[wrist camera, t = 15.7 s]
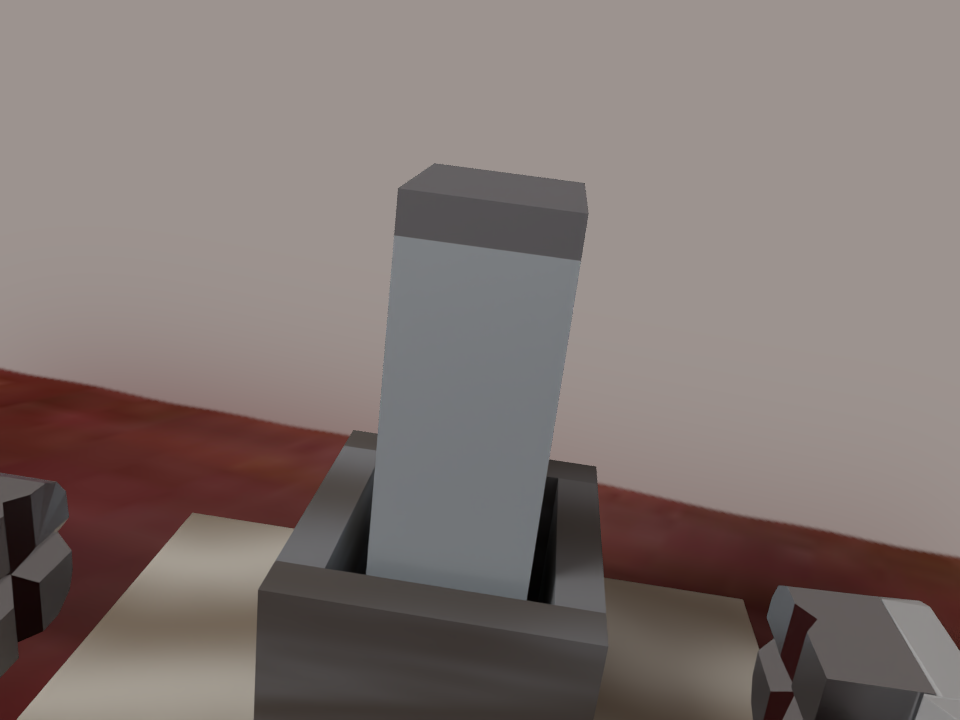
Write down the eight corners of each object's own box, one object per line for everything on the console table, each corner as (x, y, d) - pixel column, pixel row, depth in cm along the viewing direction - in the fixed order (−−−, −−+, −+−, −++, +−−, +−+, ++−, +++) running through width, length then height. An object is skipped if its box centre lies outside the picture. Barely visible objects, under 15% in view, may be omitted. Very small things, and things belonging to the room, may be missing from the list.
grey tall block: (503, 744, 22) (588, 213, 17) (354, 718, 22) (397, 188, 18) (515, 625, 27) (584, 183, 22) (391, 605, 27) (434, 163, 22)
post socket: (832, 973, 19) (916, 746, 17) (-21, 818, 20) (-47, 587, 18) (733, 634, 30) (776, 473, 28) (192, 548, 31) (192, 386, 29)
